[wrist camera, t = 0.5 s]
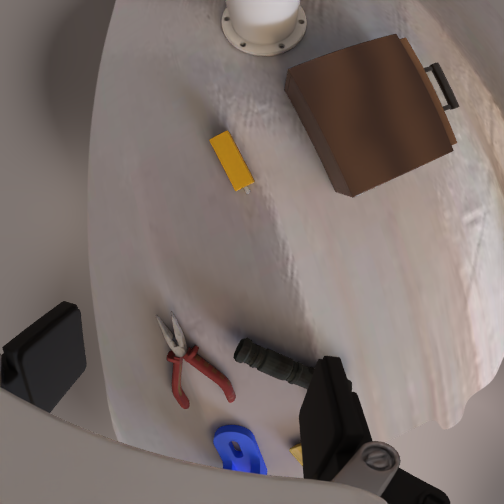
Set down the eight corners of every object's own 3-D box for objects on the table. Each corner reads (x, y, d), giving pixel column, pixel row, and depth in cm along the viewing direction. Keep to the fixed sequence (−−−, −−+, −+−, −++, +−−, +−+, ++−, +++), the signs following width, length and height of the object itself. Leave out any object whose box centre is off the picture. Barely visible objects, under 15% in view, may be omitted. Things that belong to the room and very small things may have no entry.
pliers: (196, 301, 48) (193, 308, 46) (238, 395, 53) (237, 404, 50) (137, 317, 50) (132, 324, 47) (184, 403, 55) (181, 412, 52)
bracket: (267, 469, 59) (266, 498, 50) (233, 471, 60) (229, 500, 51) (249, 422, 55) (245, 456, 46) (209, 426, 56) (202, 458, 47)
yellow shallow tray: (303, 461, 58) (304, 468, 56) (288, 443, 56) (288, 450, 54) (338, 449, 56) (340, 456, 54) (325, 430, 55) (327, 437, 53)
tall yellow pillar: (212, 141, 42) (208, 139, 40) (229, 132, 42) (227, 130, 39) (240, 196, 44) (238, 197, 41) (258, 187, 43) (257, 188, 41)
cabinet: (374, 56, 37) (396, 33, 28) (421, 153, 40) (453, 150, 31) (284, 89, 39) (287, 69, 30) (335, 192, 43) (352, 197, 34)
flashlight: (334, 392, 52) (338, 410, 47) (233, 351, 50) (230, 368, 46) (349, 374, 51) (355, 391, 46) (247, 329, 49) (244, 345, 44)
